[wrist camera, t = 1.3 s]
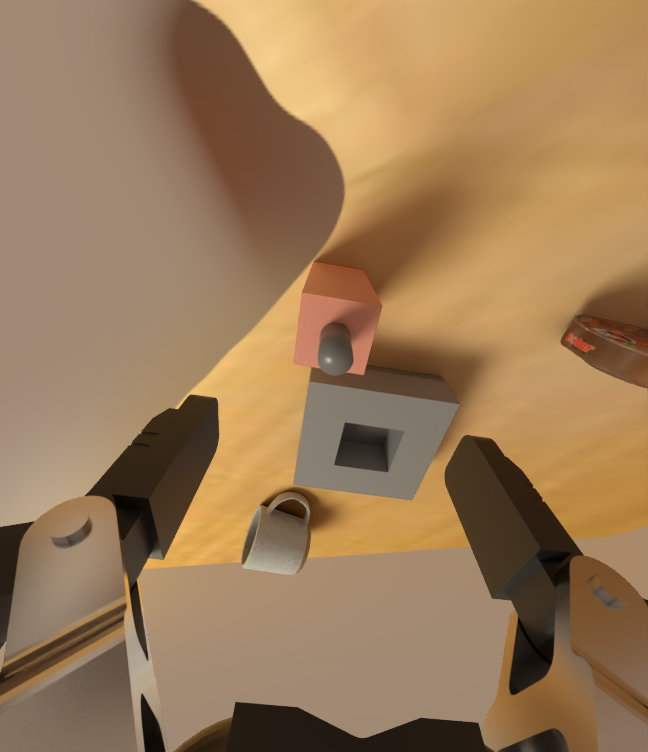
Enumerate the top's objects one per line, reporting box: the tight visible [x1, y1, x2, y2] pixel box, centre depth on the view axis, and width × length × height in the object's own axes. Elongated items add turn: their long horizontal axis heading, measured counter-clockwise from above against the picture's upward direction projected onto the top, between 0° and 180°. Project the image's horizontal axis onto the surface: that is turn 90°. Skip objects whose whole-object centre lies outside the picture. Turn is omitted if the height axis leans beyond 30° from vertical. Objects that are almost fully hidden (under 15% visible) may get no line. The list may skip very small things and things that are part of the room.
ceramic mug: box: [241, 492, 311, 575], centre depth 40 cm, size 11×8×8 cm
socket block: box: [293, 365, 460, 500], centre depth 31 cm, size 14×14×5 cm
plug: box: [293, 261, 382, 376], centre depth 20 cm, size 4×4×14 cm
